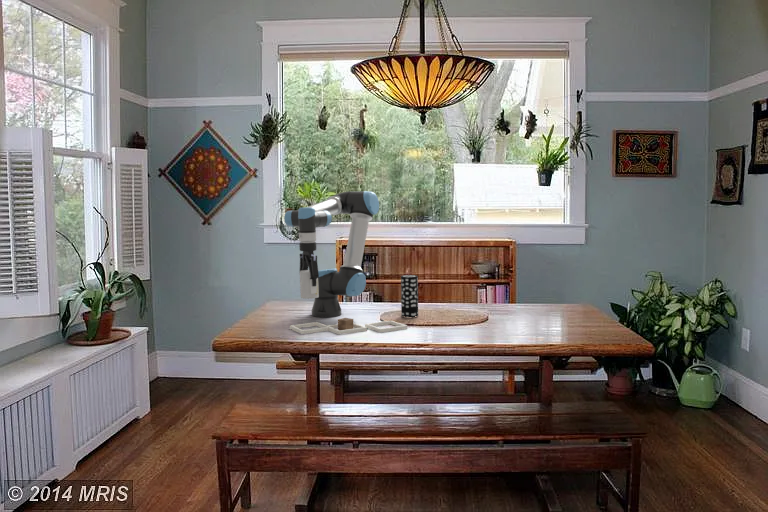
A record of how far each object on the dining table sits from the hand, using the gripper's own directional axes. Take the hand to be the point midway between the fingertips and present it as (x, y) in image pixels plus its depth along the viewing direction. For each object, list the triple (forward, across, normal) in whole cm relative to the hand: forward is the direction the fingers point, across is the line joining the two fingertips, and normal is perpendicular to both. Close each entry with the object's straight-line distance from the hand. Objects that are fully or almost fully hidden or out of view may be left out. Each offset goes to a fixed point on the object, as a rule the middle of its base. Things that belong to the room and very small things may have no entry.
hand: (309, 291), depth 306 cm
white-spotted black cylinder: (+18, 0, +53) cm, 56 cm away
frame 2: (+17, +10, +12) cm, 24 cm away
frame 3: (+17, +17, +30) cm, 38 cm away
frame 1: (+17, 0, 0) cm, 17 cm away
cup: (+3, 0, 0) cm, 3 cm away
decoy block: (+17, +10, +12) cm, 24 cm away
